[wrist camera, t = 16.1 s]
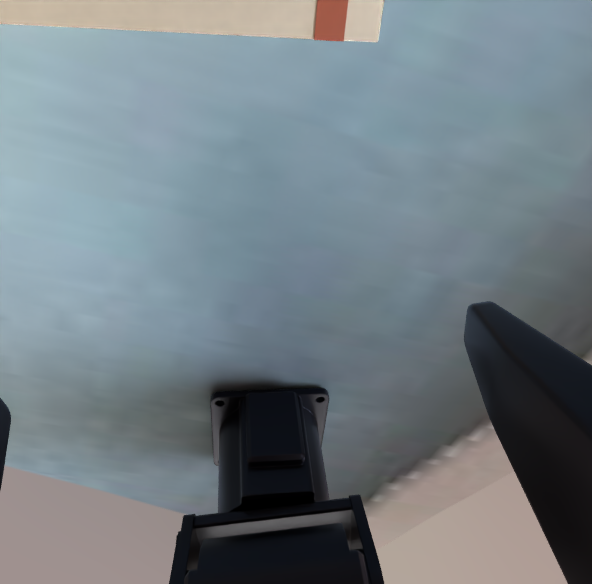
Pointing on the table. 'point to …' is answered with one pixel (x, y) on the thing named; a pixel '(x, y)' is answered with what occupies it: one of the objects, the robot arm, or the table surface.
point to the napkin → (208, 16)
